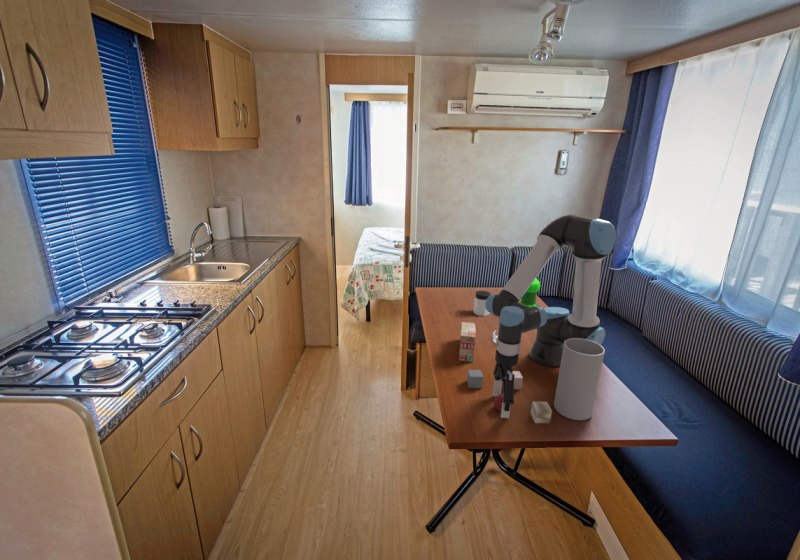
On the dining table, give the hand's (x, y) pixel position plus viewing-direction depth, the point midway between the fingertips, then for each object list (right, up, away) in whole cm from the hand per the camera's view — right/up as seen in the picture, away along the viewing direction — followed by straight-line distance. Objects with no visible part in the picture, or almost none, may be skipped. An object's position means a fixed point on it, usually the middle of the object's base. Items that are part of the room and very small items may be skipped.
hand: (500, 406), depth 145 cm
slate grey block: (-7, +4, +13) cm, 16 cm away
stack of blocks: (-6, +13, +40) cm, 43 cm away
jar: (+10, +26, +83) cm, 87 cm away
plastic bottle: (+36, +26, +85) cm, 96 cm away
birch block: (+12, -3, -6) cm, 14 cm away
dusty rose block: (+8, +4, +13) cm, 16 cm away
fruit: (0, 0, 0) cm, 0 cm away
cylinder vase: (+25, -1, -1) cm, 25 cm away
